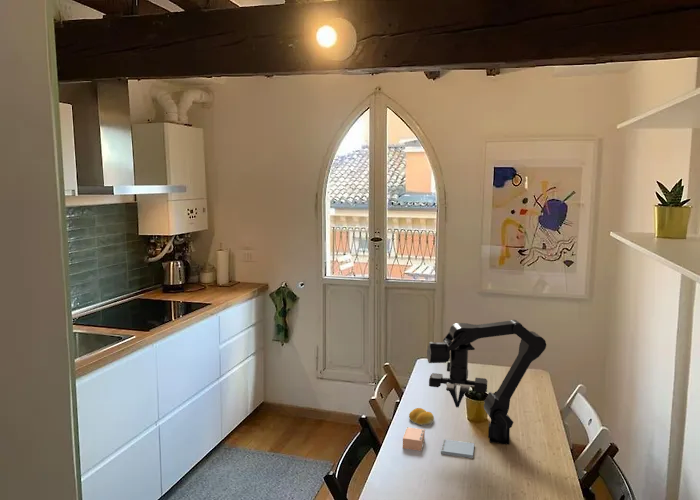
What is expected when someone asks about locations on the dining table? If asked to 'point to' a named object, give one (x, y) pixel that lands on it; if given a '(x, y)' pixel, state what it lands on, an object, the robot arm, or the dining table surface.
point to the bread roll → (421, 417)
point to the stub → (413, 438)
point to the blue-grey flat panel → (457, 448)
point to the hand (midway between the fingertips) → (457, 407)
